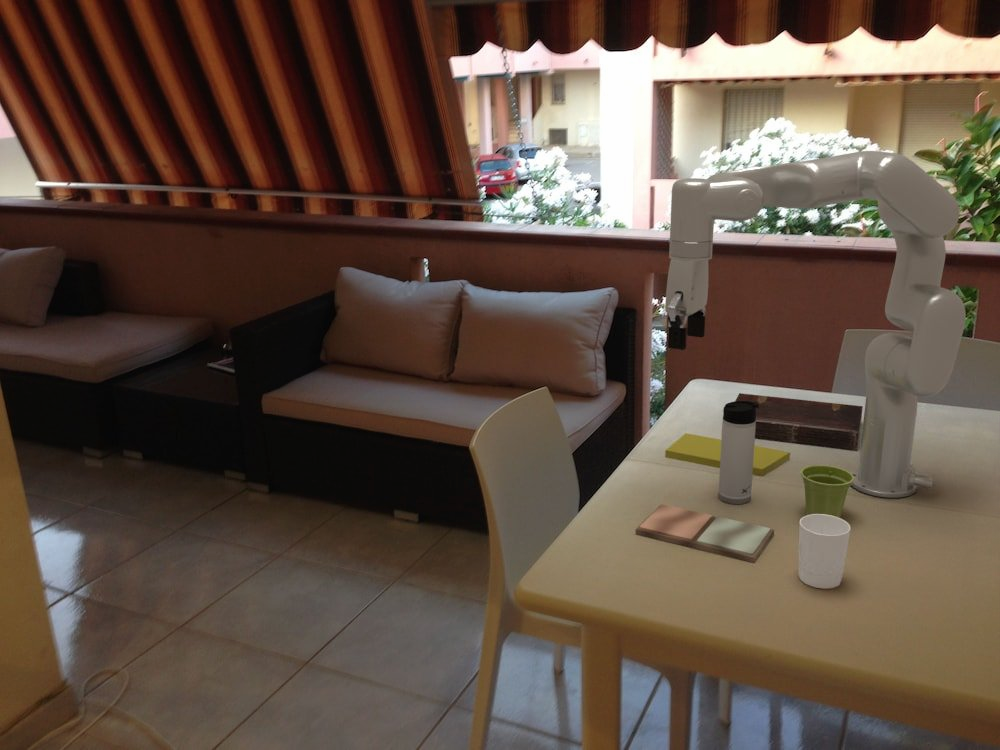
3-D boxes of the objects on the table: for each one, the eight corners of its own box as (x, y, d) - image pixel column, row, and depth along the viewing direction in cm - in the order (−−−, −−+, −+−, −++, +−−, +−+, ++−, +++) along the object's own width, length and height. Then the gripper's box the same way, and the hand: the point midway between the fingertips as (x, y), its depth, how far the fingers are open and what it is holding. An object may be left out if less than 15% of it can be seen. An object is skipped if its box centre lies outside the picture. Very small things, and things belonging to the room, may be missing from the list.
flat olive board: (665, 459, 206) (773, 481, 194) (665, 450, 205) (774, 471, 193) (685, 442, 216) (789, 461, 204) (685, 433, 215) (790, 452, 203)
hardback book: (724, 437, 218) (725, 417, 217) (738, 412, 235) (739, 393, 233) (856, 453, 207) (858, 432, 206) (860, 425, 224) (862, 406, 222)
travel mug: (753, 505, 181) (759, 409, 175) (718, 503, 183) (723, 407, 177) (751, 492, 187) (757, 398, 181) (718, 490, 189) (723, 397, 183)
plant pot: (812, 501, 183) (815, 460, 180) (858, 516, 176) (862, 473, 174) (788, 517, 177) (791, 474, 174) (835, 532, 170) (839, 489, 168)
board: (773, 534, 170) (774, 527, 169) (754, 562, 160) (754, 555, 160) (660, 509, 181) (660, 502, 180) (635, 534, 171) (635, 527, 171)
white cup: (838, 595, 149) (844, 539, 146) (789, 583, 153) (793, 528, 150) (849, 574, 156) (855, 520, 153) (802, 563, 160) (806, 509, 157)
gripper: (687, 241, 175) (683, 329, 180) (652, 255, 161) (649, 351, 166) (726, 244, 171) (721, 334, 176) (694, 259, 157) (689, 356, 162)
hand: (686, 342), depth 171 cm, fingers open, 9 cm apart
